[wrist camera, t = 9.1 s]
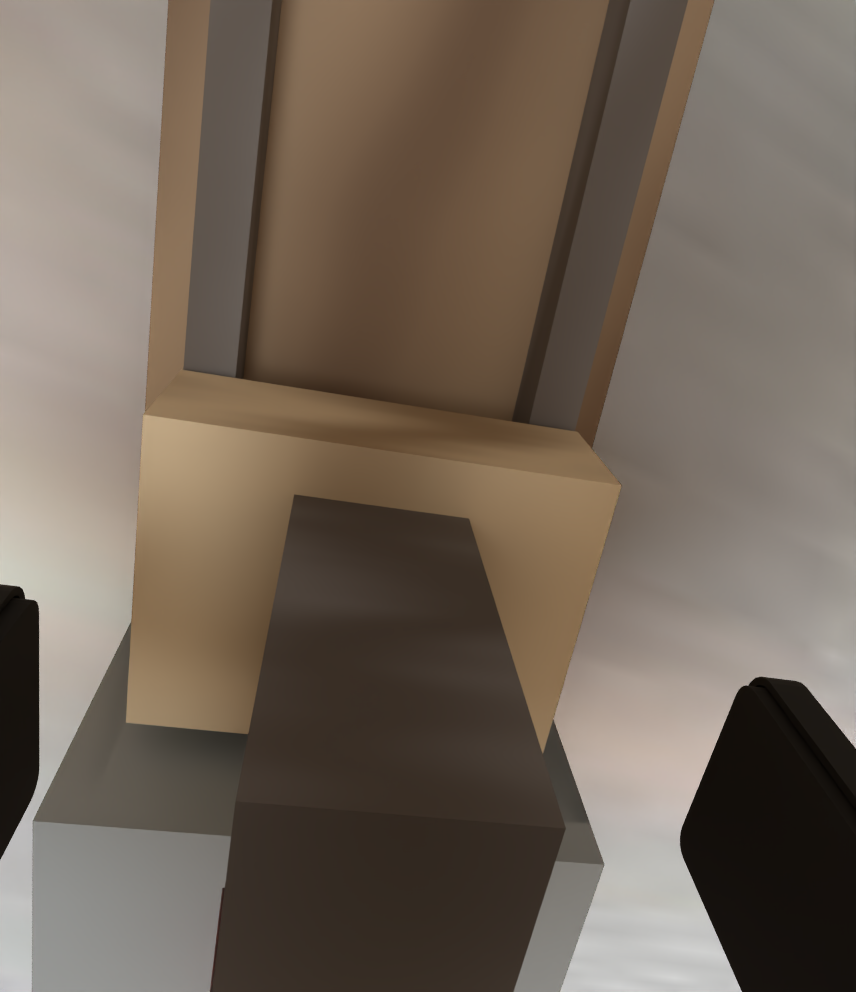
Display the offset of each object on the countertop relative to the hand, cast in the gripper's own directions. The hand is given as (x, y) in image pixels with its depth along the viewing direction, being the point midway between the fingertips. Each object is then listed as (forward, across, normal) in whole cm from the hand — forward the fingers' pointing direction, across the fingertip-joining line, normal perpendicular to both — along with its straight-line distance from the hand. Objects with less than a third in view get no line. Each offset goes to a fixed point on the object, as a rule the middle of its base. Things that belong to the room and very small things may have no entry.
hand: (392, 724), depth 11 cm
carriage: (+7, 0, +1) cm, 7 cm away
